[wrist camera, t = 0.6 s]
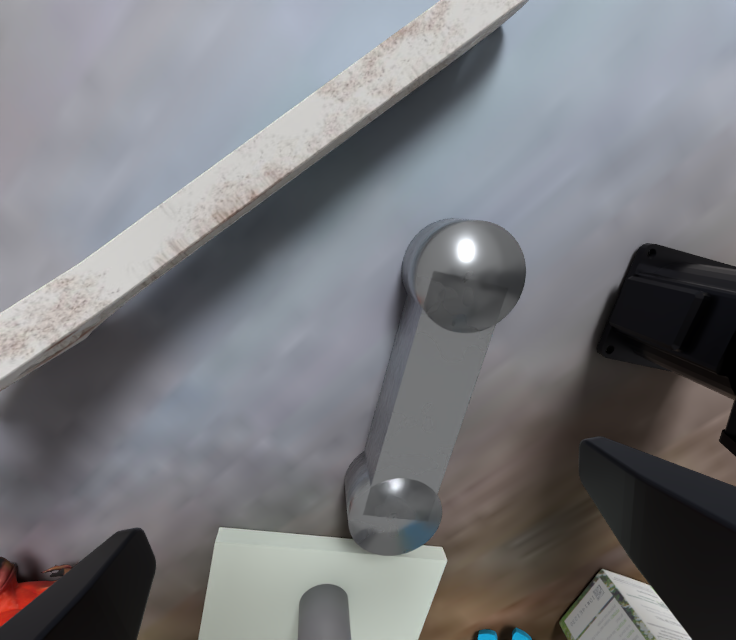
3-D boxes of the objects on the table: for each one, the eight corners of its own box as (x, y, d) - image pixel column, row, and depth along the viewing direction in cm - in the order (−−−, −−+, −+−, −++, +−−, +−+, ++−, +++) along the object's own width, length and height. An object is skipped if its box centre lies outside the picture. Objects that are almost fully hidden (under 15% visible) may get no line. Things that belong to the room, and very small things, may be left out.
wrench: (475, 53, 19) (-16, 416, 18) (457, 18, 19) (-51, 388, 18) (601, -64, 12) (-234, 549, 10) (577, -130, 11) (-308, 508, 10)
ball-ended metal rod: (508, 231, 19) (541, 236, 16) (414, 516, 24) (427, 559, 21) (416, 207, 18) (435, 207, 16) (336, 509, 23) (338, 551, 20)
